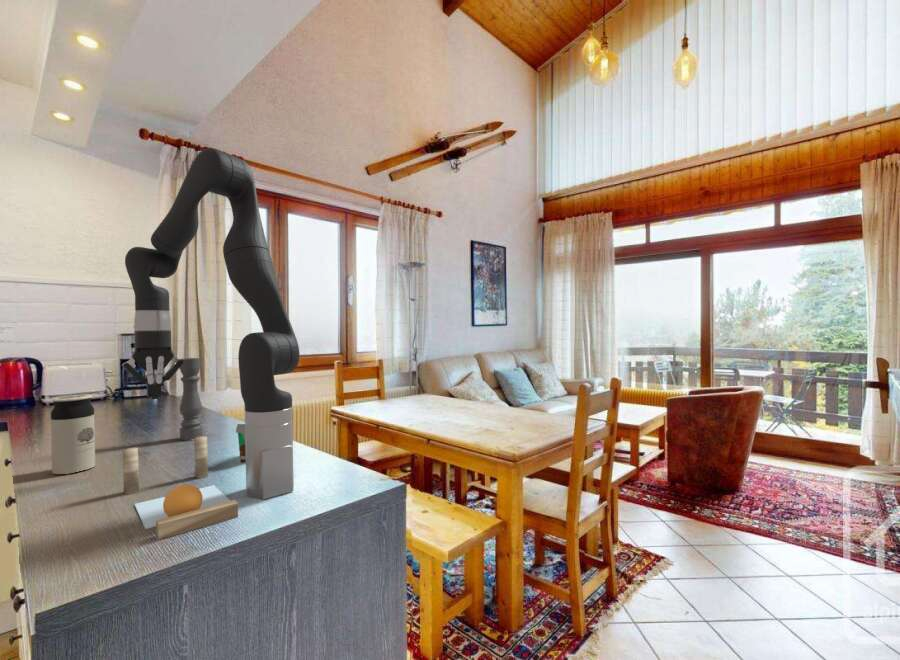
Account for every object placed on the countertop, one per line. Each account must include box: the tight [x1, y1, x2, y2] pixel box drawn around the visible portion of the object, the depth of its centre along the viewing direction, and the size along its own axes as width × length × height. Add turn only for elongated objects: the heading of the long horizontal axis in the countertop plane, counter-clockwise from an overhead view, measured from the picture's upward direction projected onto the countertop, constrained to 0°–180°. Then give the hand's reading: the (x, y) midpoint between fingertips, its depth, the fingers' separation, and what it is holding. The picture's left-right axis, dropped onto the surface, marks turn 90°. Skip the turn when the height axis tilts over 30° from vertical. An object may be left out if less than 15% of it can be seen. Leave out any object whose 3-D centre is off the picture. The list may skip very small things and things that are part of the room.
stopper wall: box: [155, 499, 239, 541], centre depth 74 cm, size 2×12×2 cm, turn 133°
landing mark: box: [134, 484, 231, 530], centre depth 83 cm, size 14×14×1 cm
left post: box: [122, 446, 140, 495], centre depth 90 cm, size 3×3×9 cm
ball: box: [163, 483, 202, 517], centre depth 77 cm, size 6×6×6 cm
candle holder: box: [178, 357, 204, 441], centre depth 134 cm, size 6×6×25 cm
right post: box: [193, 435, 209, 479], centre depth 99 cm, size 3×3×9 cm
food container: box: [235, 423, 246, 463], centre depth 113 cm, size 12×6×10 cm, turn 168°
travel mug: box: [50, 394, 96, 475], centre depth 105 cm, size 8×8×18 cm
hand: (154, 398), depth 106 cm, fingers closed
